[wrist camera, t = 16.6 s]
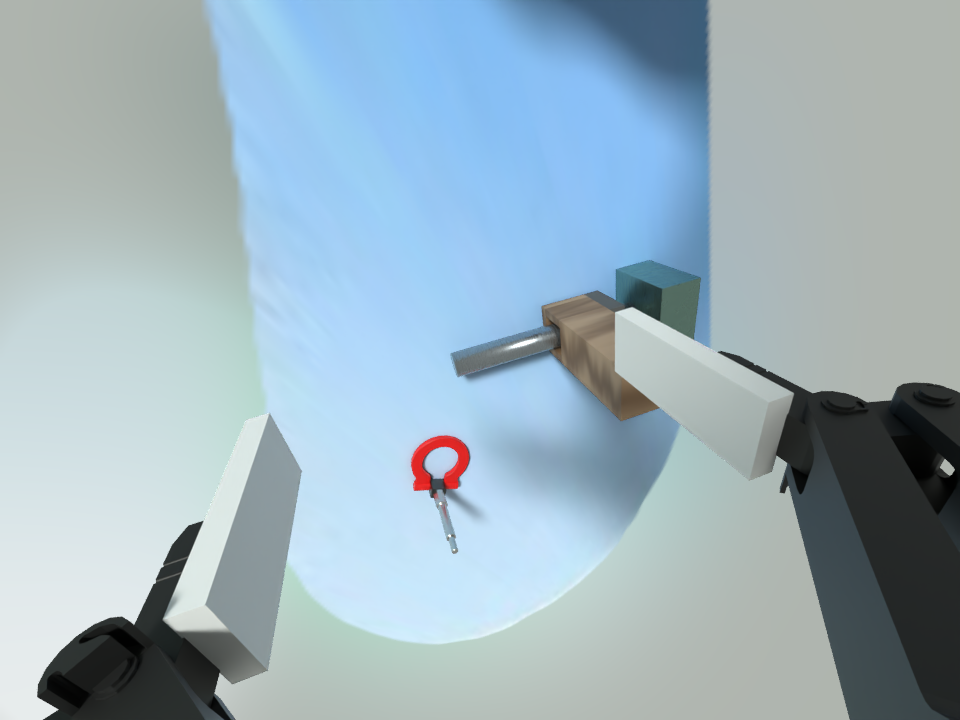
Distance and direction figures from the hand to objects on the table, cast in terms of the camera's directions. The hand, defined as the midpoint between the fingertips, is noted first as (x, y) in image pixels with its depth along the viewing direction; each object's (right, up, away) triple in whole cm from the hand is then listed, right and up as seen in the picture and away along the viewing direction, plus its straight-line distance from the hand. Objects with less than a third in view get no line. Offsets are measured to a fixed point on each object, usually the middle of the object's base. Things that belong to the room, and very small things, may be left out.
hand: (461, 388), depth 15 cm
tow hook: (-5, -14, +43) cm, 45 cm away
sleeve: (+12, +6, +38) cm, 40 cm away
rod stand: (+11, +6, +37) cm, 39 cm away
